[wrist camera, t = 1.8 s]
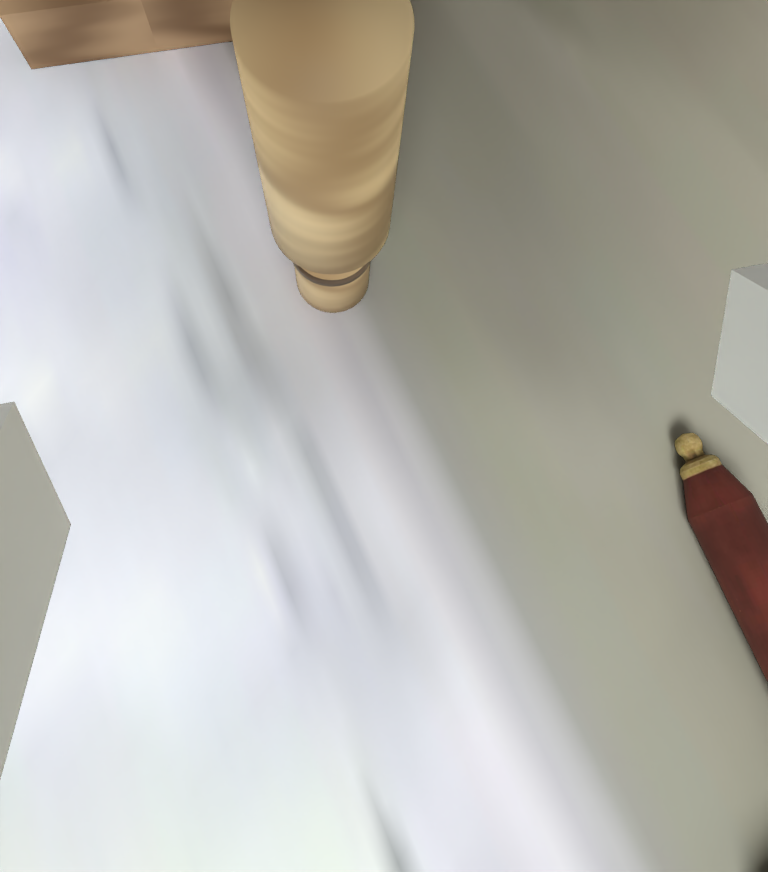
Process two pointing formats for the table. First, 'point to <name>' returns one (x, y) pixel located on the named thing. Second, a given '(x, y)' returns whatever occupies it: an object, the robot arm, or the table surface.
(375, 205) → the peg
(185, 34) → the board
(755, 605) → the gavel
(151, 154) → the table surface
